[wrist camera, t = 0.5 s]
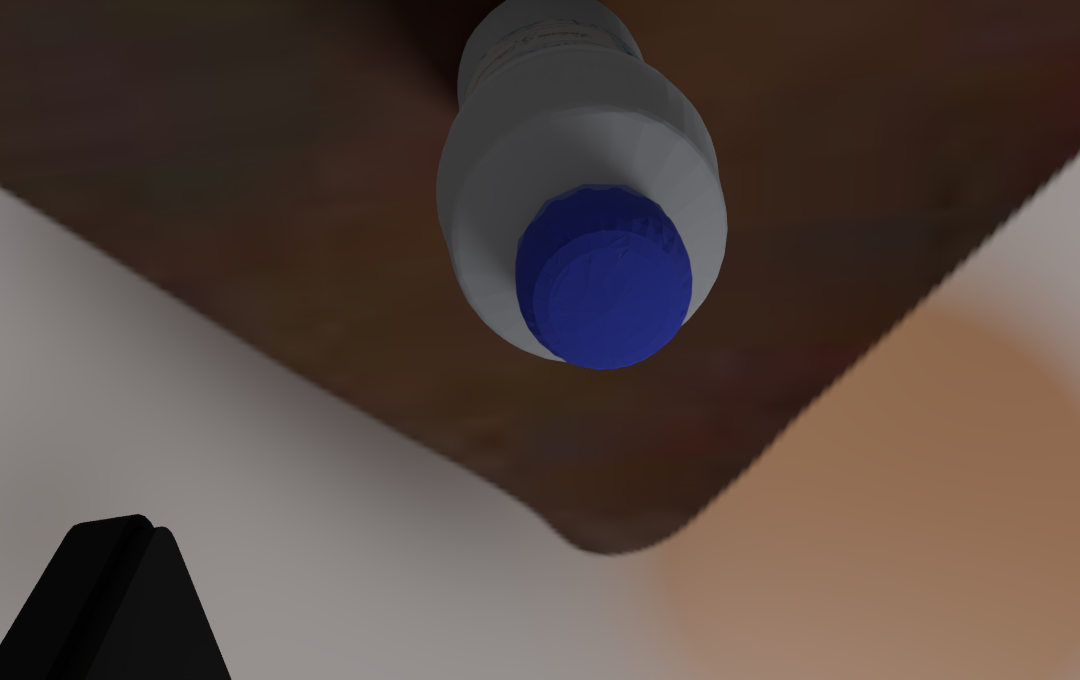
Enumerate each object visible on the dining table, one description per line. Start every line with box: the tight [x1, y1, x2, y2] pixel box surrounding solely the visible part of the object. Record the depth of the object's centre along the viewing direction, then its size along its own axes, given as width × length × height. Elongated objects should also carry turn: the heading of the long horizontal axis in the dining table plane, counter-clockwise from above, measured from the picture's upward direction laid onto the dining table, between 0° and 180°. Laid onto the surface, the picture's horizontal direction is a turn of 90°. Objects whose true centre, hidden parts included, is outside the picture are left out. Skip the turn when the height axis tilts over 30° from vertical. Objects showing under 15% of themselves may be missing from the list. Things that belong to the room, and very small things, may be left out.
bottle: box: [436, 0, 727, 370], centre depth 27 cm, size 7×7×20 cm
